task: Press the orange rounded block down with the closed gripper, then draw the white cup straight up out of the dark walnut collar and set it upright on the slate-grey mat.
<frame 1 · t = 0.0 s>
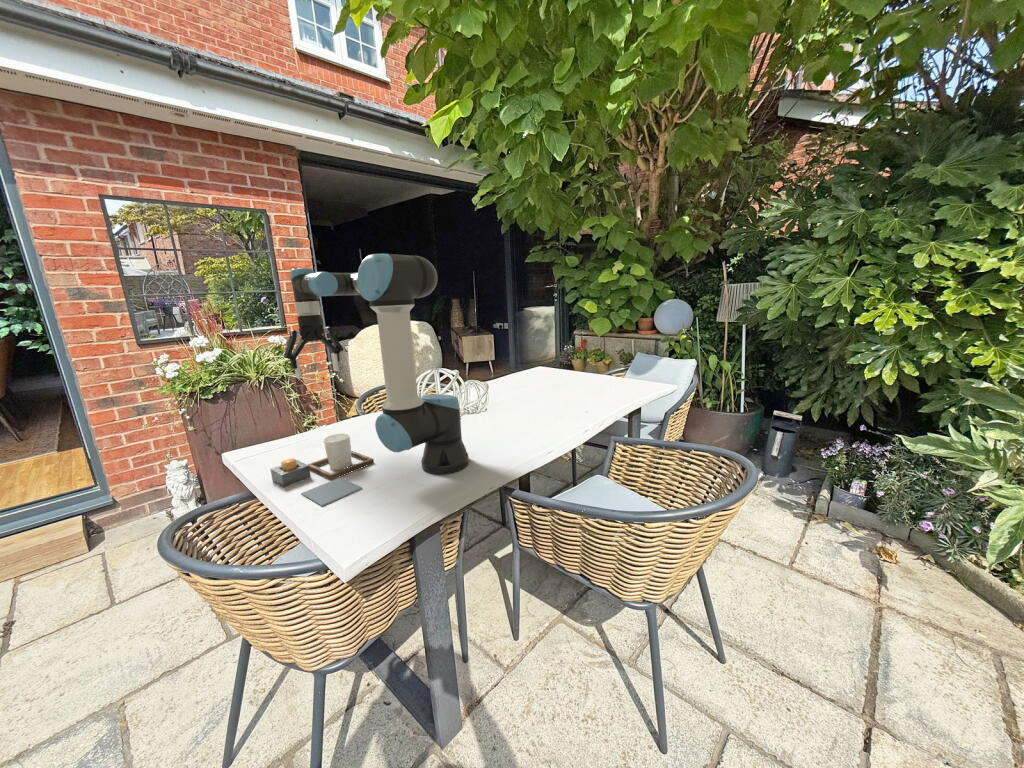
hand: (318, 374, 143), 28 cm above the table, tool pointing down, fingers open, 13 cm apart
plunger housing: (291, 479, 123), on the table
orange rounded block: (289, 467, 122), point 4 cm above the table, slide at 0.0 cm
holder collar: (341, 465, 131), on the table
white cup: (341, 466, 132), resting in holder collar
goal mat: (332, 491, 114), on the table
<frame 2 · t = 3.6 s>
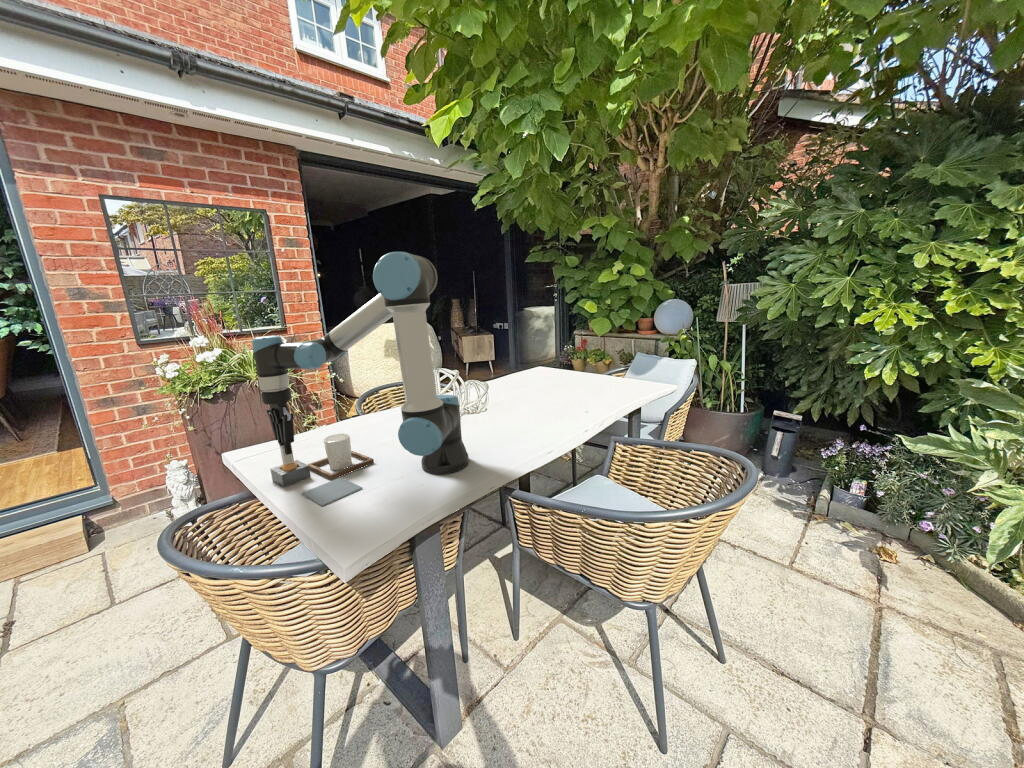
hand: (288, 463, 122), 5 cm above the table, tool pointing down, fingers closed
orange rounded block: (290, 469, 123), point 3 cm above the table, slide at 0.9 cm, touching gripper
everything else where it was.
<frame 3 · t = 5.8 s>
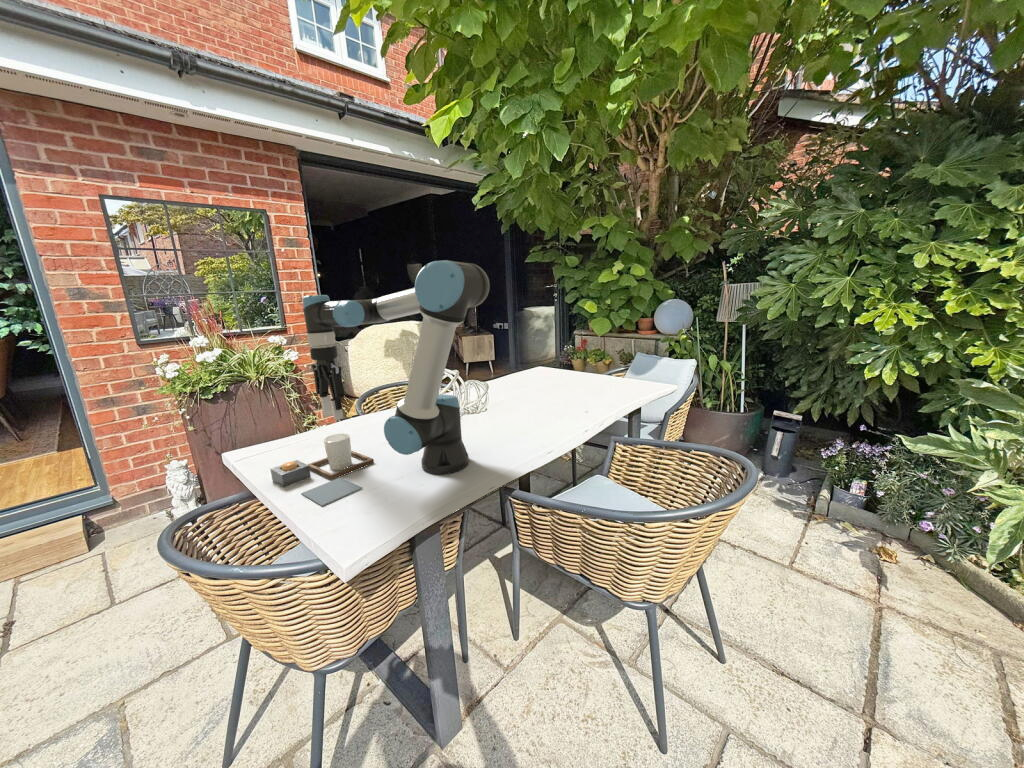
hand: (333, 417, 128), 17 cm above the table, tool pointing down, fingers open, 6 cm apart
orange rounded block: (290, 470, 123), point 3 cm above the table, slide at 1.0 cm
everything else where it was.
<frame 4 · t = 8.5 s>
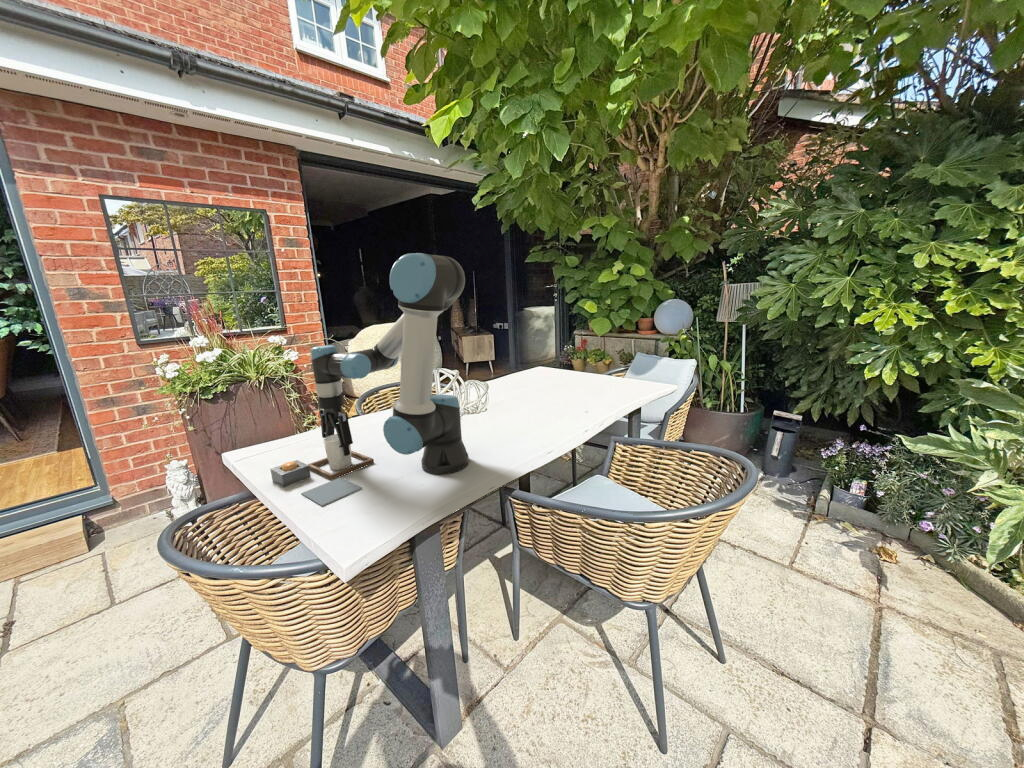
hand: (340, 461, 131), 2 cm above the table, tool pointing down, fingers closed on white cup, 7 cm apart
white cup: (341, 466, 131), resting in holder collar, touching gripper
everything else where it was.
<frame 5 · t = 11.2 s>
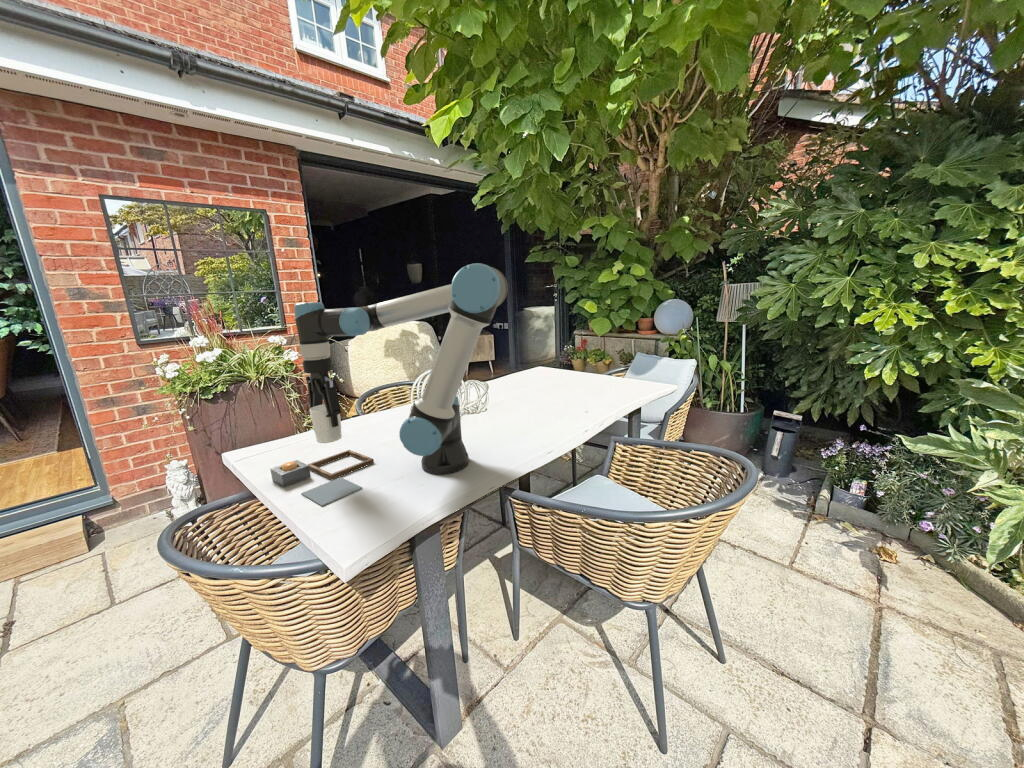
hand: (328, 434, 117), 15 cm above the table, tool pointing down, fingers closed on white cup, 7 cm apart
white cup: (329, 440, 118), point 13 cm above the table, touching gripper
everything else where it was.
when the fingers open (3 cm above the table, at t = 14.4 s): white cup drops 1 cm, resting on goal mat.
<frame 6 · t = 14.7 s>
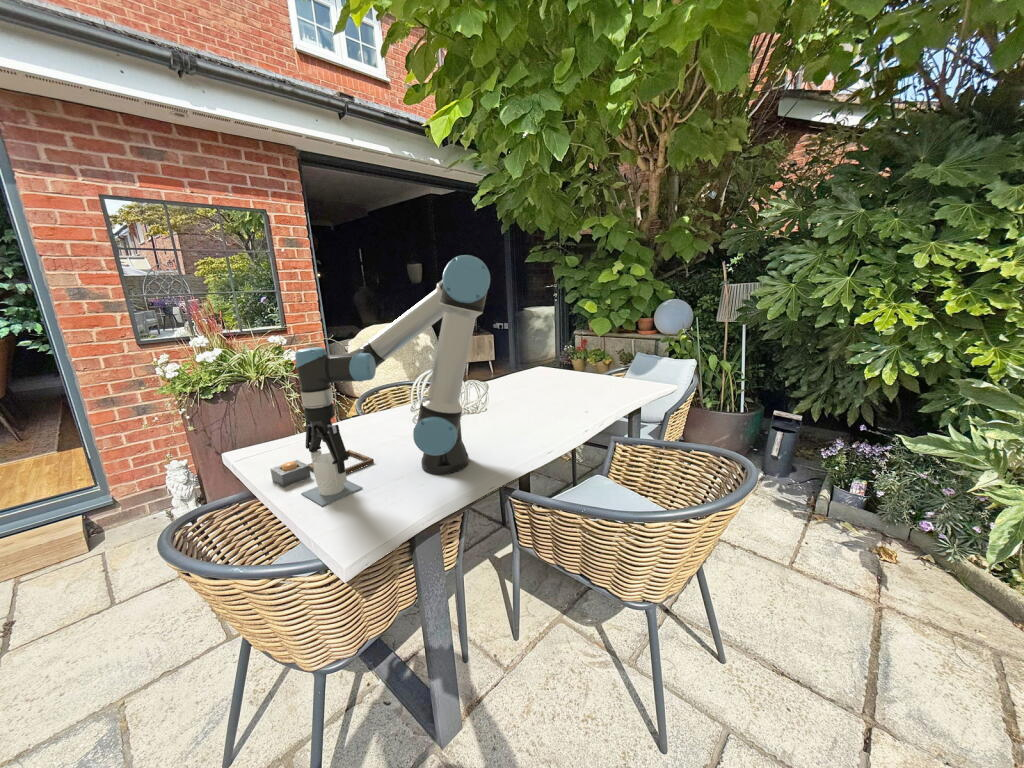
hand: (330, 477, 113), 4 cm above the table, tool pointing down, fingers open, 12 cm apart
white cup: (332, 490, 114), resting on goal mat
everything else where it was.
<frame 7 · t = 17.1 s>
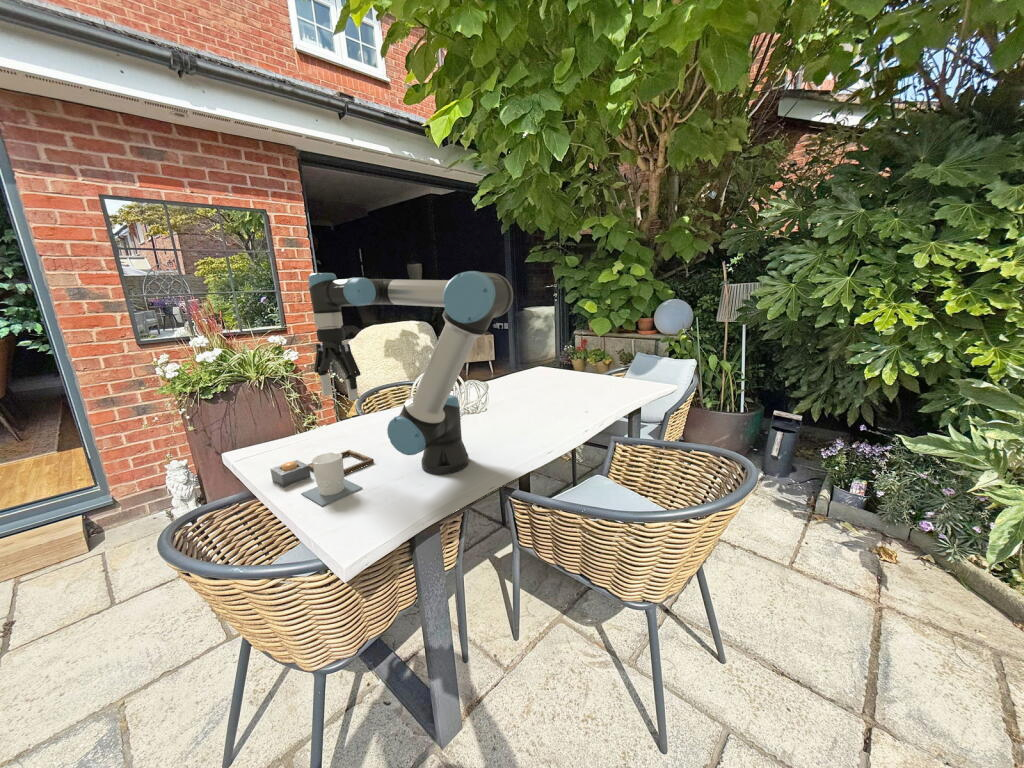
hand: (340, 397, 121), 25 cm above the table, tool pointing down, fingers open, 13 cm apart
nothing on the table moved.
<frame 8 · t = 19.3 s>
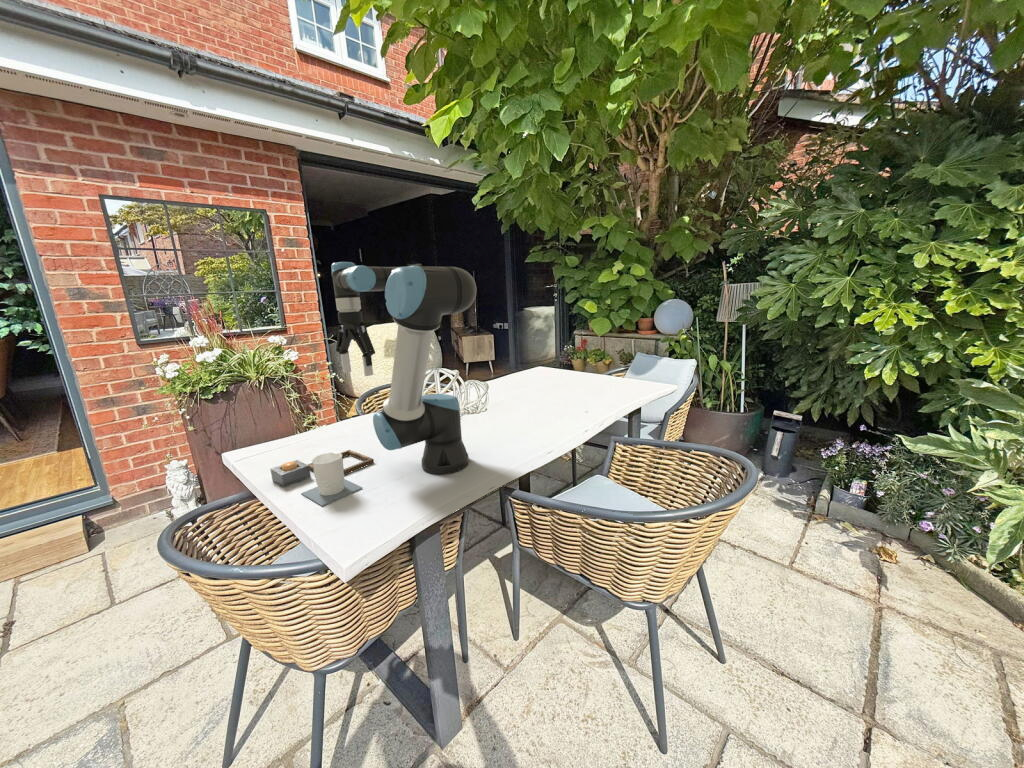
hand: (357, 373, 136), 29 cm above the table, tool pointing down, fingers open, 13 cm apart
nothing on the table moved.
at the end: orange rounded block slide at 1.0 cm; white cup inside the target area on the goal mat (0.0 cm from its centre), point 0.2 cm above the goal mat's base; white cup tilted 0° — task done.
